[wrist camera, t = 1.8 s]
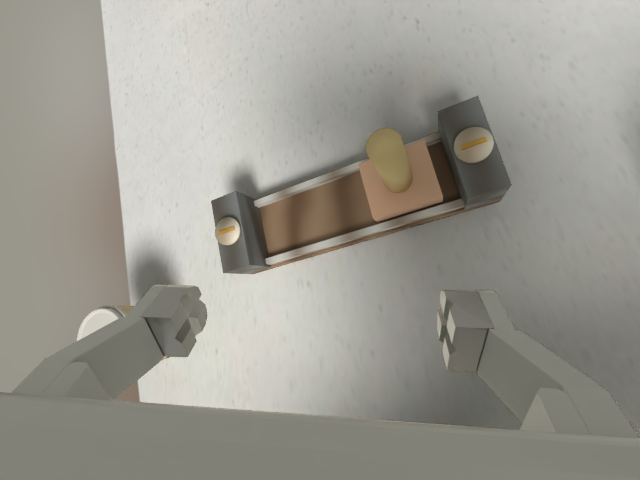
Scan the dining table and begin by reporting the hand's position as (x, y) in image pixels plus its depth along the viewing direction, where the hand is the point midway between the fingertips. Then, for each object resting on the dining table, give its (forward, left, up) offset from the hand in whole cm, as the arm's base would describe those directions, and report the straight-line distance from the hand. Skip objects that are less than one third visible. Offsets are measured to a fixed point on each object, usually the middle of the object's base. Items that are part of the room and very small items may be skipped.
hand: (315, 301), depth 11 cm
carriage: (+4, -12, -30) cm, 32 cm away
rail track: (+10, -8, -32) cm, 34 cm away
